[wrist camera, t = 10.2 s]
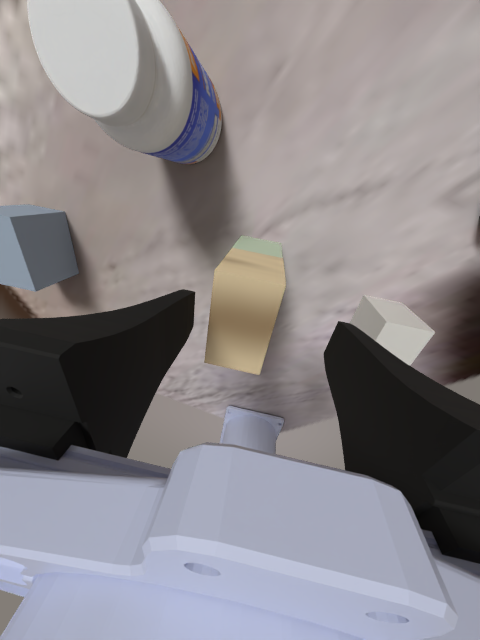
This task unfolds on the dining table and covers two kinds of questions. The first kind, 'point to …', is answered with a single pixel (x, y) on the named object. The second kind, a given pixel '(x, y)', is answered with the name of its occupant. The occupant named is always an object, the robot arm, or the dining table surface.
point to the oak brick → (244, 309)
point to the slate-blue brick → (35, 247)
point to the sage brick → (259, 246)
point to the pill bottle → (129, 74)
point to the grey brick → (392, 327)
